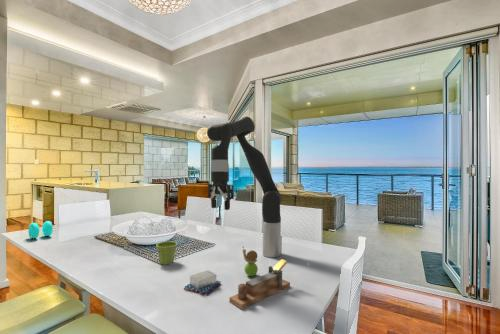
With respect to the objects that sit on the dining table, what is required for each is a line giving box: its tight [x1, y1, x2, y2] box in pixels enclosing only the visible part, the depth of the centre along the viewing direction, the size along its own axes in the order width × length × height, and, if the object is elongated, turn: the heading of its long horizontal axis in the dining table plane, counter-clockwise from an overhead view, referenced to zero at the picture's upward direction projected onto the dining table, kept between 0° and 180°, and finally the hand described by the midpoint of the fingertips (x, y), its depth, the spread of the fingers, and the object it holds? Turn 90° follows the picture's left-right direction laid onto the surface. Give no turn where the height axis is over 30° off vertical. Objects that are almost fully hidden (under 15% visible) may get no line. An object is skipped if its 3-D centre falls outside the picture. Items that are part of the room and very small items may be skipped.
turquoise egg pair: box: [28, 220, 54, 239], centre depth 155 cm, size 10×10×10 cm
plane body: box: [228, 266, 291, 310], centre depth 88 cm, size 24×6×7 cm, turn 132°
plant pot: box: [155, 240, 178, 266], centre depth 116 cm, size 9×9×9 cm
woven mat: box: [183, 279, 222, 297], centre depth 92 cm, size 10×11×2 cm
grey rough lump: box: [189, 270, 218, 289], centre depth 93 cm, size 8×6×3 cm
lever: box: [271, 258, 288, 274], centre depth 94 cm, size 1×4×6 cm
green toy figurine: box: [242, 246, 259, 277], centre depth 103 cm, size 5×6×12 cm
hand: (220, 208), depth 106 cm, fingers open, 8 cm apart
